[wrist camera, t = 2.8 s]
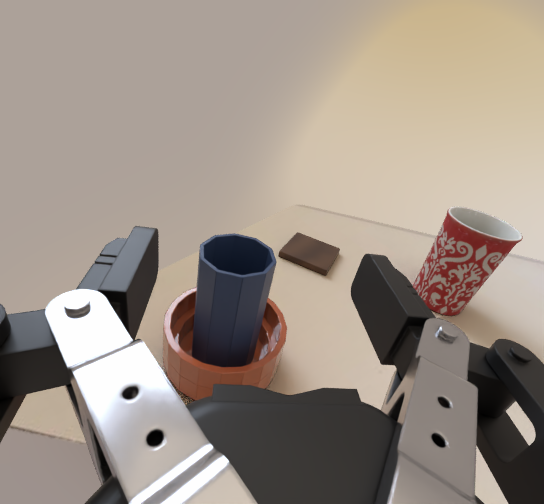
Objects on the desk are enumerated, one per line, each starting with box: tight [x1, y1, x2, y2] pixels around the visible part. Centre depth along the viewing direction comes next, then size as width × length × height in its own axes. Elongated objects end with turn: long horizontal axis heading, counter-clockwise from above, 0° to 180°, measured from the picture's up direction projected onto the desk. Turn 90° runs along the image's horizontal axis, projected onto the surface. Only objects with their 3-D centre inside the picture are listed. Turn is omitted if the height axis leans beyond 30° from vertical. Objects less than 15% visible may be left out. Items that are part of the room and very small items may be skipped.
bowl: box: [163, 287, 287, 400], centre depth 31 cm, size 11×11×5 cm
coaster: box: [279, 232, 340, 276], centre depth 52 cm, size 8×8×1 cm
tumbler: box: [192, 234, 276, 367], centre depth 28 cm, size 6×6×12 cm
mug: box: [413, 207, 523, 316], centre depth 46 cm, size 13×9×14 cm
